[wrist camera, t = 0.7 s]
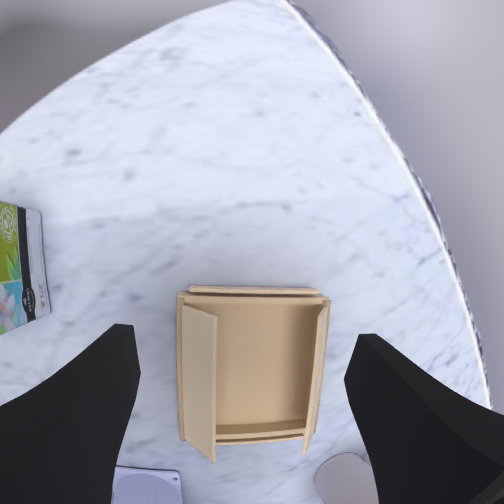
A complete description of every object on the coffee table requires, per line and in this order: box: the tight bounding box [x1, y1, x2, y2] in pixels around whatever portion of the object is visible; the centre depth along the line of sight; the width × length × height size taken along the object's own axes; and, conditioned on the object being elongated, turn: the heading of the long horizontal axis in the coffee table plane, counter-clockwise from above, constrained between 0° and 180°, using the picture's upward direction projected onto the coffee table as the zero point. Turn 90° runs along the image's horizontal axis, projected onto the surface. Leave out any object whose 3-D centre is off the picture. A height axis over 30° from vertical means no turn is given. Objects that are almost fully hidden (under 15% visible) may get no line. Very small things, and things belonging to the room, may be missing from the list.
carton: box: [177, 285, 330, 445], centre depth 27 cm, size 15×13×3 cm
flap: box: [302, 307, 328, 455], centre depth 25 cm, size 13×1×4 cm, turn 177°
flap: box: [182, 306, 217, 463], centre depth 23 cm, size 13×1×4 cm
